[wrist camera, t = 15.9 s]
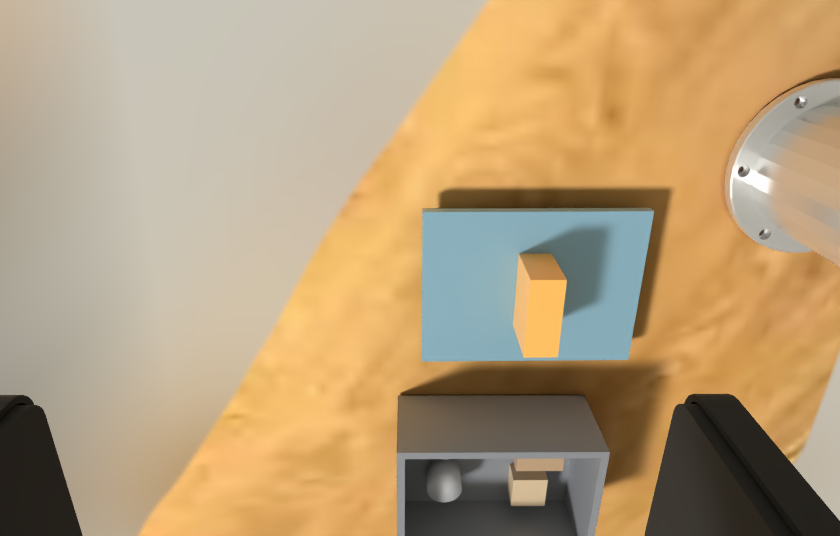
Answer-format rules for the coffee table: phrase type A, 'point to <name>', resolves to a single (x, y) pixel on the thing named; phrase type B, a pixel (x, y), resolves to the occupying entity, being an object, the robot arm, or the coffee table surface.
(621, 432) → the coffee table surface
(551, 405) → the parts tub
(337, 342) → the coffee table surface
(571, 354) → the tub lid
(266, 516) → the coffee table surface
